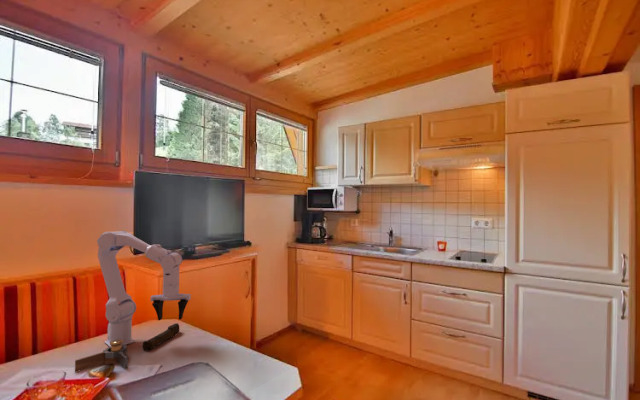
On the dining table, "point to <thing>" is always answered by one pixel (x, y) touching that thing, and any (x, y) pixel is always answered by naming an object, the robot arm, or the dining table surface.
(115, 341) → the bronze pin
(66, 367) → the dining table surface
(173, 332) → the hand tool
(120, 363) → the grey ring with handle
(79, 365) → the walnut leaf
